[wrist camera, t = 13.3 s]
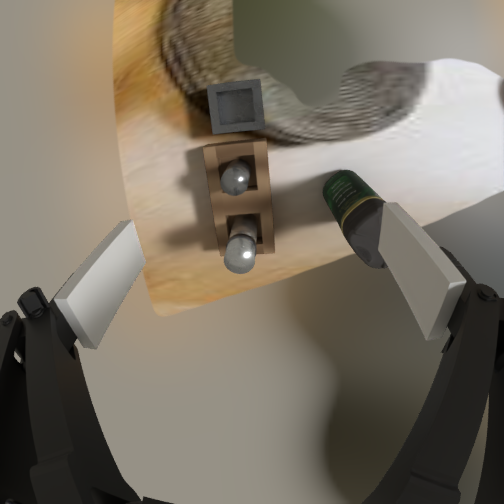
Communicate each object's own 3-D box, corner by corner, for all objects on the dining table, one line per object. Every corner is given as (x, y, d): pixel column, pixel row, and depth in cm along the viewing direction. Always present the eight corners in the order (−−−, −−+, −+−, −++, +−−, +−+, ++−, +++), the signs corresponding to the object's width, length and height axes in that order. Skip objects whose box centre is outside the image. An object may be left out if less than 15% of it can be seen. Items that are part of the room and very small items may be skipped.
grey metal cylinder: (231, 211, 50) (220, 247, 39) (257, 210, 50) (254, 245, 38) (234, 235, 52) (225, 275, 41) (259, 233, 52) (257, 273, 41)
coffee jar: (314, 190, 48) (337, 238, 32) (346, 161, 45) (387, 196, 29) (346, 225, 51) (377, 283, 35) (377, 199, 48) (421, 248, 32)
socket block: (212, 87, 40) (206, 85, 36) (260, 81, 39) (259, 79, 35) (217, 131, 44) (212, 134, 40) (265, 126, 43) (264, 129, 39)
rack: (207, 144, 45) (202, 147, 42) (266, 138, 44) (266, 141, 41) (223, 245, 55) (220, 256, 51) (274, 242, 54) (274, 253, 51)
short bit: (226, 159, 45) (218, 170, 38) (249, 157, 45) (246, 168, 38) (229, 182, 47) (222, 197, 40) (252, 180, 47) (249, 194, 40)
